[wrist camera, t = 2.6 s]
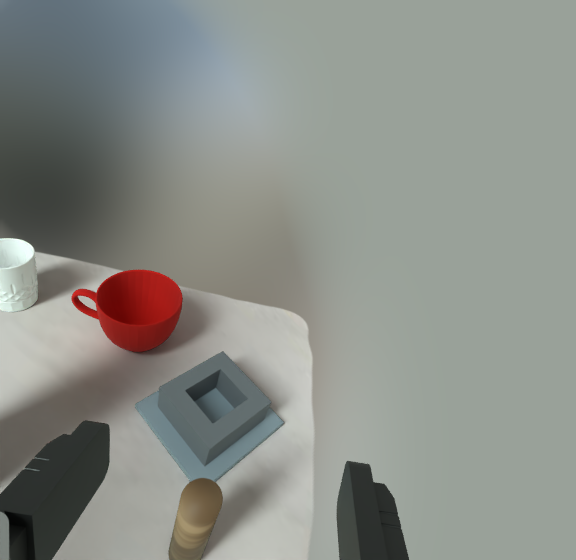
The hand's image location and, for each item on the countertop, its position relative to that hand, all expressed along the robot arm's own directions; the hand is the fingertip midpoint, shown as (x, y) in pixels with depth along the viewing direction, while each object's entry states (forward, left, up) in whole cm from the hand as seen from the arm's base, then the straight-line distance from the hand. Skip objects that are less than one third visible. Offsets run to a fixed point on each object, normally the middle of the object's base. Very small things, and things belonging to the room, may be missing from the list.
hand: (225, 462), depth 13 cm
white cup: (+8, +56, -43) cm, 71 cm away
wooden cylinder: (+8, +6, -43) cm, 44 cm away
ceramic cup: (+19, +39, -43) cm, 61 cm away
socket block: (+21, +18, -43) cm, 51 cm away
